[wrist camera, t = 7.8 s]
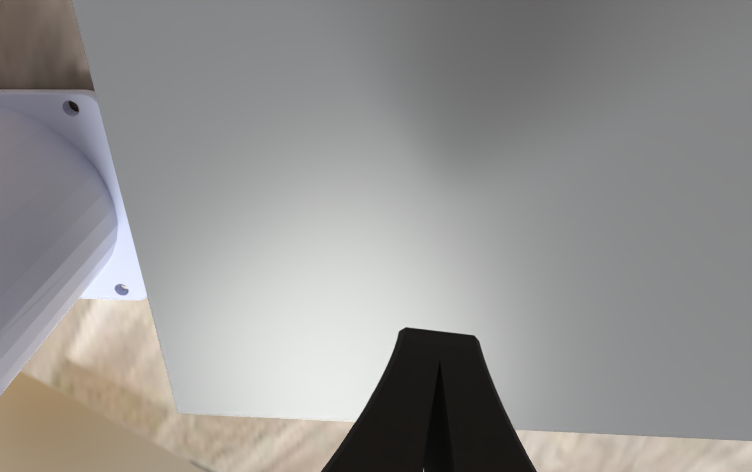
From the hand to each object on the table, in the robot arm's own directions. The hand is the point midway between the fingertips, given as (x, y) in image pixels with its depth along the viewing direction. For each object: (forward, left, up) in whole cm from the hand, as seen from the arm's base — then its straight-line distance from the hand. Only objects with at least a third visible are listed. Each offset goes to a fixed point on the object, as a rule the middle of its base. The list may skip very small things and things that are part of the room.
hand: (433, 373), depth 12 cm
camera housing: (+1, 0, -10) cm, 10 cm away
